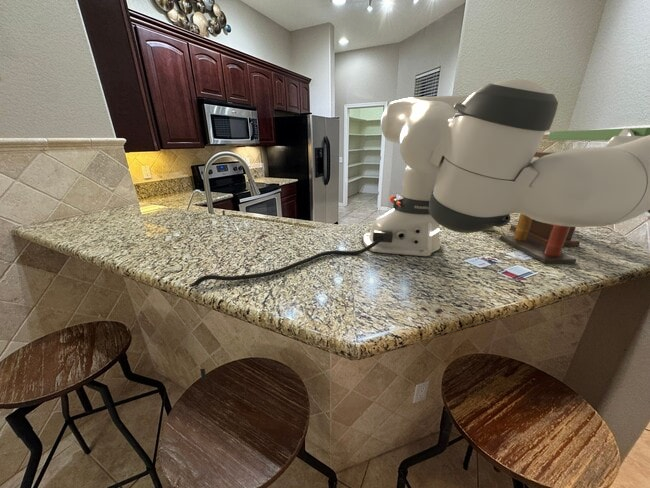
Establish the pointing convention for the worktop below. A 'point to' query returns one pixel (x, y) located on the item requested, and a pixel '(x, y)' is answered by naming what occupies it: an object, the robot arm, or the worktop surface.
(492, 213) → the robot arm
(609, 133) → the green bar
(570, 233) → the walnut pedestal
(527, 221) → the rod stand
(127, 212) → the worktop surface
